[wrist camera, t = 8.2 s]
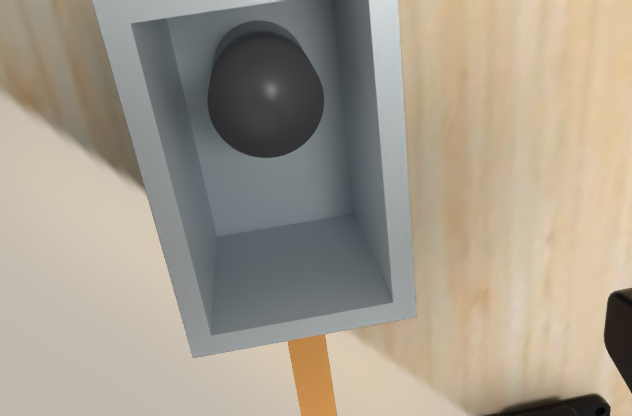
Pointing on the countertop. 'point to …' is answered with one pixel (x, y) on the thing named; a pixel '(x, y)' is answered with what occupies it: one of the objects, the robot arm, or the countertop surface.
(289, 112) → the dark grey rounded piece
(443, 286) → the countertop surface
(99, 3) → the toner caddy
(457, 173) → the countertop surface
